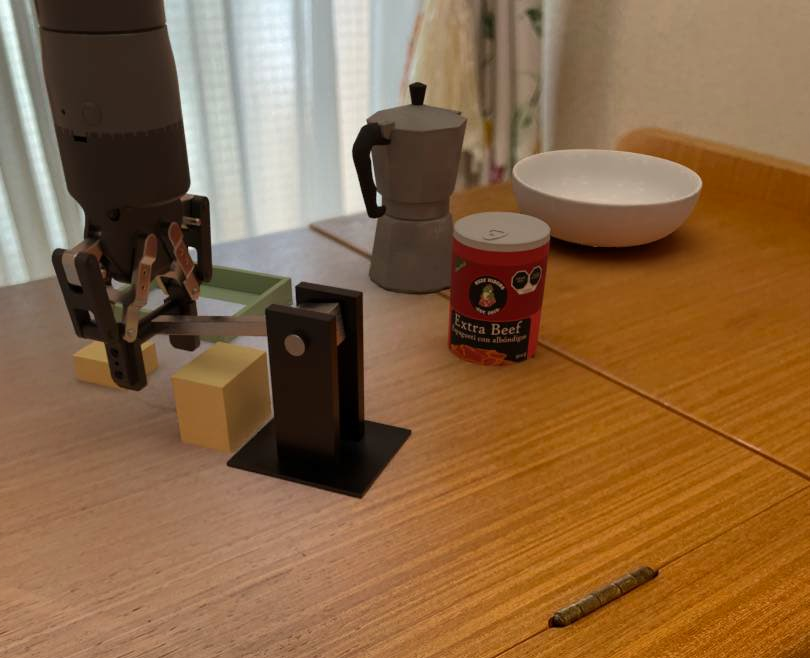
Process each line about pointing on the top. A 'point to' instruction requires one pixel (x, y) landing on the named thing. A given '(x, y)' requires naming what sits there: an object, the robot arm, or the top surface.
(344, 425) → the lever stand
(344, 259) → the top surface
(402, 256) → the coffeepot
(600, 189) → the serving bowl
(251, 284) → the dish
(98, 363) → the butter pat
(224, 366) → the butter
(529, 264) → the canned food
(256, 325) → the lever
